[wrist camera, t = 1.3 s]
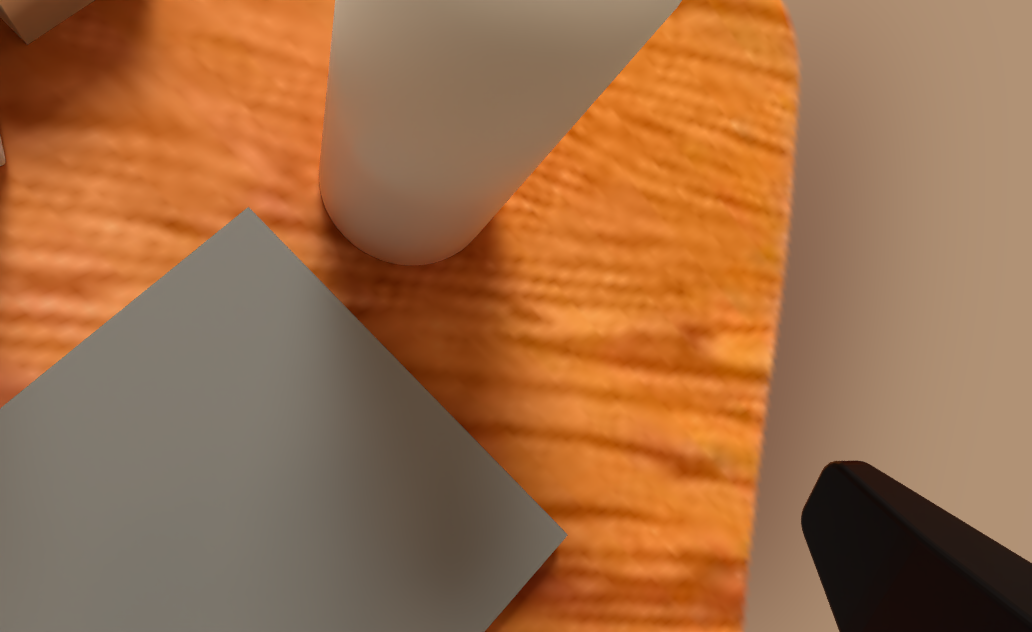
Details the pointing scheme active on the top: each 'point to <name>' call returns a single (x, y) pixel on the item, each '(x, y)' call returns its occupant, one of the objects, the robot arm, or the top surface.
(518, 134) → the cream bottle
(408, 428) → the slate board
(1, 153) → the skincare box
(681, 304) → the top surface
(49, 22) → the birch block
